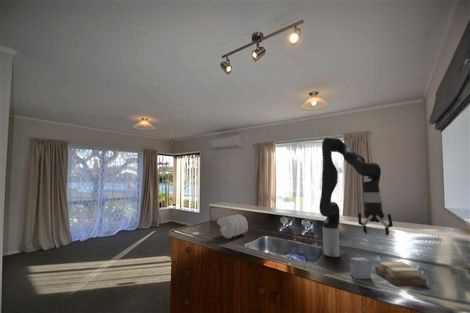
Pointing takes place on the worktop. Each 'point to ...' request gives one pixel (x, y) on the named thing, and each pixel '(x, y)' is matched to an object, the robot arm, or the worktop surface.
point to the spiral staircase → (233, 225)
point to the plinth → (401, 280)
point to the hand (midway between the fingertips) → (376, 234)
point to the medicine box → (360, 268)
